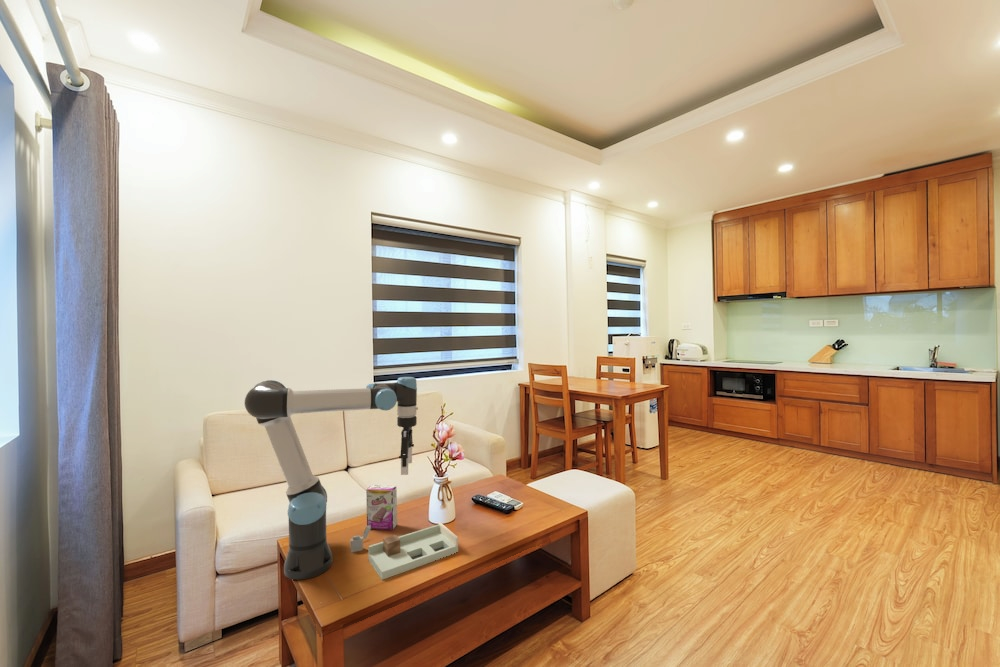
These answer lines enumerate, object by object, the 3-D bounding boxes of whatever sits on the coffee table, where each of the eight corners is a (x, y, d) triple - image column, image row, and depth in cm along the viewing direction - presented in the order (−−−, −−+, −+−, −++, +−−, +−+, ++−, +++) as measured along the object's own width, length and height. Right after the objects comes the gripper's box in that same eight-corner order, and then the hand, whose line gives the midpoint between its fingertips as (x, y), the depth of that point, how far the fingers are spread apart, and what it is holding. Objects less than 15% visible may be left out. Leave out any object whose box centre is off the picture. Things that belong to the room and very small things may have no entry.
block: (387, 556, 145) (387, 543, 145) (383, 551, 149) (383, 538, 149) (400, 552, 148) (400, 539, 147) (395, 547, 151) (395, 534, 151)
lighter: (351, 552, 153) (350, 531, 152) (350, 550, 154) (350, 528, 154) (371, 547, 156) (371, 526, 156) (370, 545, 157) (370, 524, 157)
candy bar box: (366, 529, 170) (365, 489, 169) (371, 523, 175) (370, 484, 174) (393, 530, 169) (392, 490, 168) (397, 524, 174) (396, 485, 173)
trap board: (382, 579, 136) (381, 563, 136) (368, 560, 148) (368, 544, 147) (458, 552, 152) (458, 537, 152) (440, 536, 163) (440, 522, 163)
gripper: (413, 422, 157) (412, 479, 157) (419, 409, 181) (419, 458, 182) (392, 423, 156) (392, 480, 156) (401, 409, 181) (401, 459, 181)
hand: (406, 468), depth 169 cm, fingers open, 13 cm apart
